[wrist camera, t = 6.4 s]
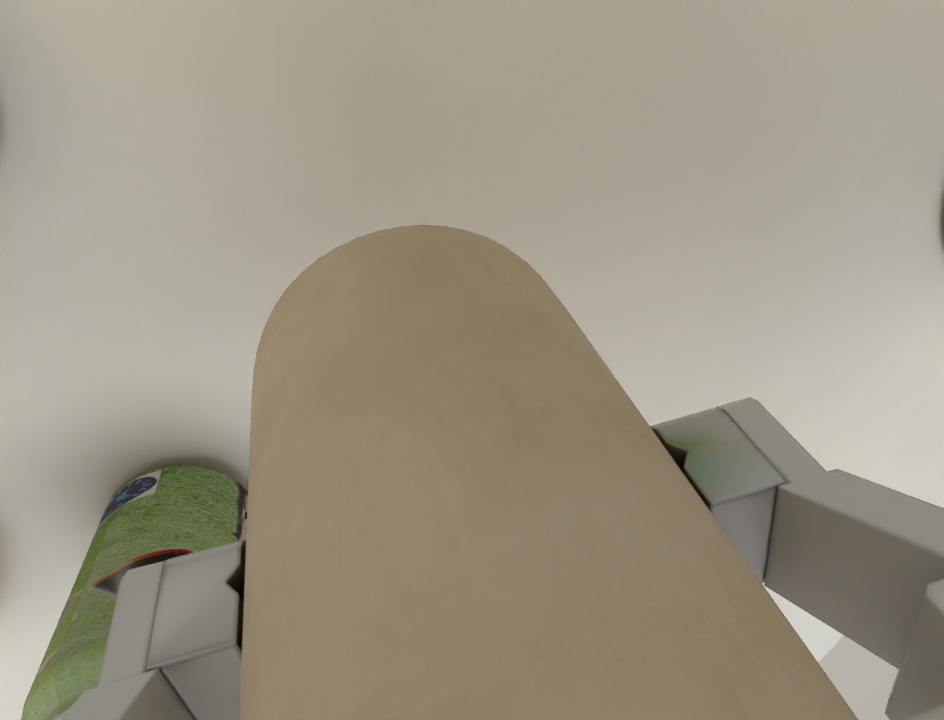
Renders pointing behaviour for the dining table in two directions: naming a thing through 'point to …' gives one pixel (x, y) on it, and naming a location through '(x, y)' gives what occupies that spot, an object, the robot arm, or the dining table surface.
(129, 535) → the beverage can
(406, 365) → the candle
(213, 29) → the dining table surface
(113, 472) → the dining table surface
